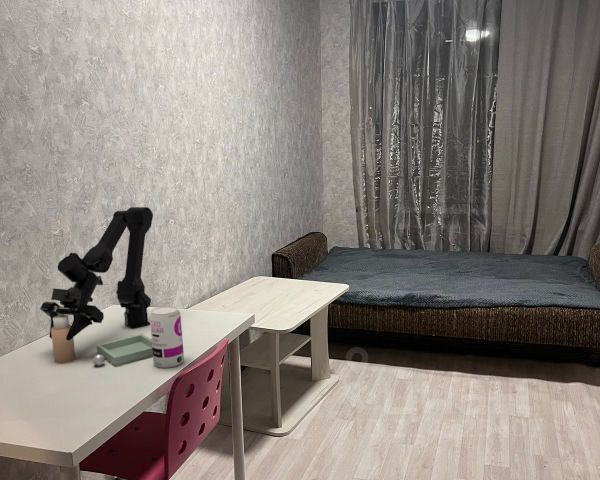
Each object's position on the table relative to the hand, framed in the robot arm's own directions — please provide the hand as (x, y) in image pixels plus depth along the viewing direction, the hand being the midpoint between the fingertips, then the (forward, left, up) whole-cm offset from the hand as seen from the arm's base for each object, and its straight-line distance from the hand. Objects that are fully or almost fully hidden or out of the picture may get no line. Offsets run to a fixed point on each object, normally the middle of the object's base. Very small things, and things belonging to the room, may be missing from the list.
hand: (59, 338), depth 170 cm
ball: (-7, +11, -5) cm, 14 cm away
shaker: (-1, -1, -7) cm, 7 cm away
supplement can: (-22, +23, -7) cm, 32 cm away
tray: (-17, +8, -7) cm, 20 cm away
